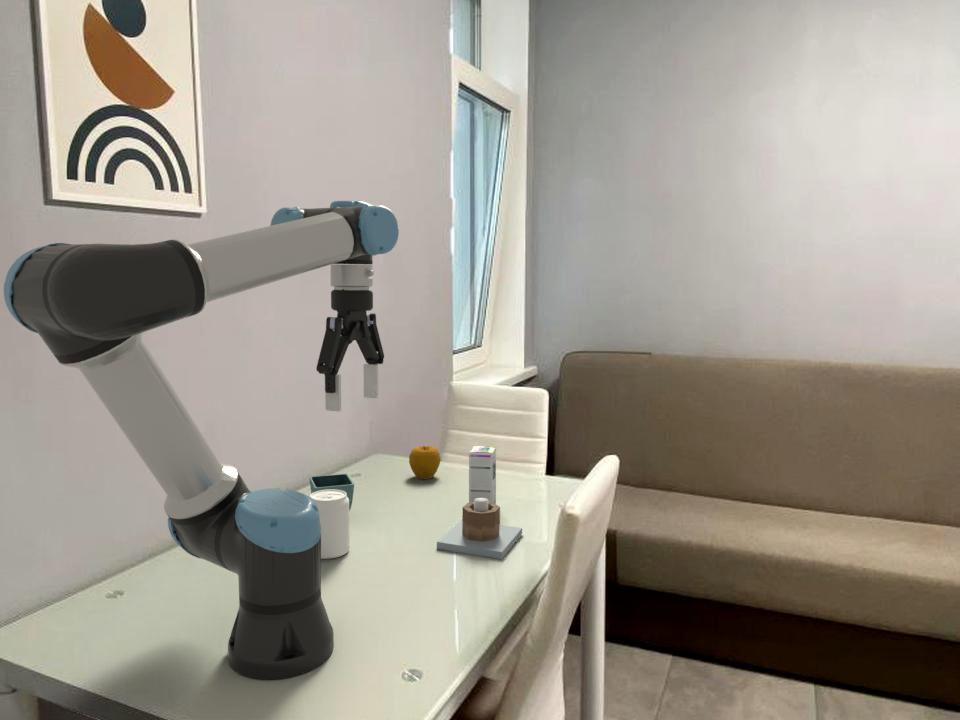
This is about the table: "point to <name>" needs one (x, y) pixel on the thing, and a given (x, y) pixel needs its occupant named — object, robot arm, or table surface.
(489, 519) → the collar
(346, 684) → the table surface
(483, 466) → the syrup box
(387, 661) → the table surface
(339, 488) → the flower pot
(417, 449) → the apple
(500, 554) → the post block
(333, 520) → the beverage can
